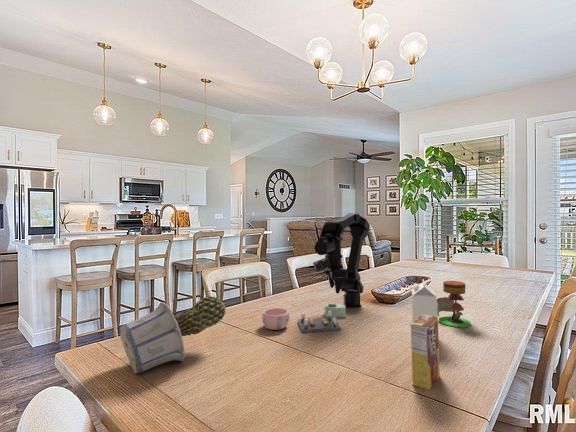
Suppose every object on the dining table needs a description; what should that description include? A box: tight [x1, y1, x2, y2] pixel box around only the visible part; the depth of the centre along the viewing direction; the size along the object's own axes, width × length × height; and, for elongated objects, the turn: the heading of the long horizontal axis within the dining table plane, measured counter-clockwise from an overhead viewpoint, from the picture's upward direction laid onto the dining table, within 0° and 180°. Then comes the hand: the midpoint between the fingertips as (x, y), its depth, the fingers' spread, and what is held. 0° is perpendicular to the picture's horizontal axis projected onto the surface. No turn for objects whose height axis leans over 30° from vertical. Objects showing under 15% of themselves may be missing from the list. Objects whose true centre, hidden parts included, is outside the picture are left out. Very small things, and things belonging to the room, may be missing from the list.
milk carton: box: [411, 279, 438, 324], centre depth 109 cm, size 7×7×19 cm
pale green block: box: [324, 303, 347, 318], centre depth 135 cm, size 8×5×5 cm, turn 89°
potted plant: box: [119, 296, 227, 374], centre depth 98 cm, size 18×18×30 cm
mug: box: [261, 307, 290, 331], centre depth 123 cm, size 12×10×6 cm
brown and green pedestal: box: [436, 280, 472, 328], centre depth 124 cm, size 12×13×15 cm
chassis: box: [297, 311, 342, 333], centre depth 123 cm, size 14×11×4 cm
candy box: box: [410, 315, 441, 391], centre depth 83 cm, size 9×4×15 cm, turn 140°
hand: (334, 290), depth 135 cm, fingers open, 9 cm apart
